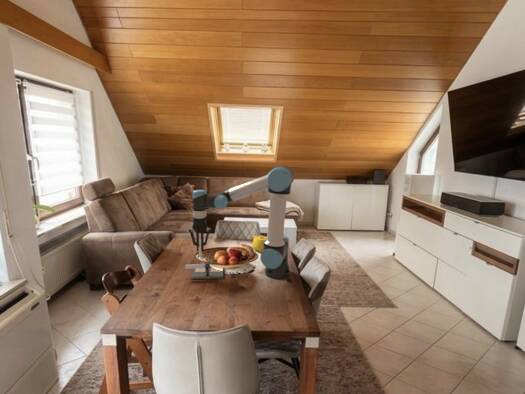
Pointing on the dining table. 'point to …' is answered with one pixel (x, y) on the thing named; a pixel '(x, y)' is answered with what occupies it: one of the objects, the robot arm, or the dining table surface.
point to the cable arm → (197, 266)
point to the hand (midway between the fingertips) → (200, 256)
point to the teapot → (258, 243)
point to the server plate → (206, 273)
